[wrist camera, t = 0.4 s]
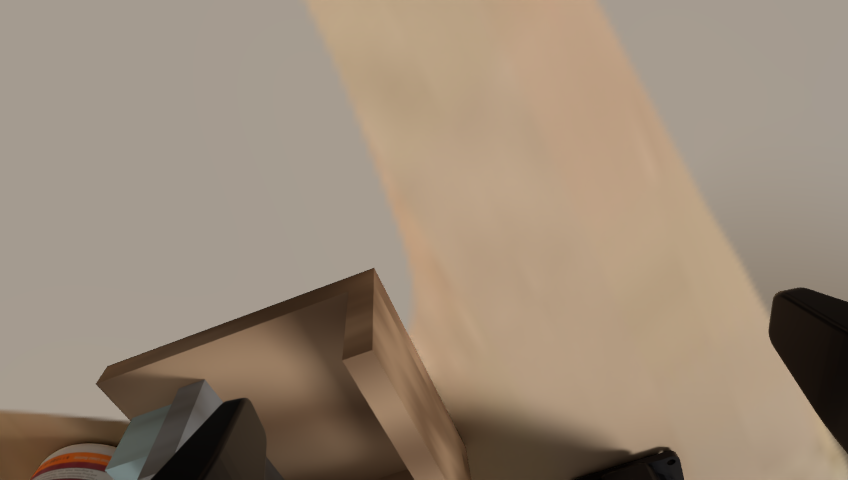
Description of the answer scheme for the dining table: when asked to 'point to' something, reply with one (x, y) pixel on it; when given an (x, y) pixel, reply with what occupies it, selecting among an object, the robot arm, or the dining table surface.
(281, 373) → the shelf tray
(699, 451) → the dining table surface
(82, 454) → the pill bottle
